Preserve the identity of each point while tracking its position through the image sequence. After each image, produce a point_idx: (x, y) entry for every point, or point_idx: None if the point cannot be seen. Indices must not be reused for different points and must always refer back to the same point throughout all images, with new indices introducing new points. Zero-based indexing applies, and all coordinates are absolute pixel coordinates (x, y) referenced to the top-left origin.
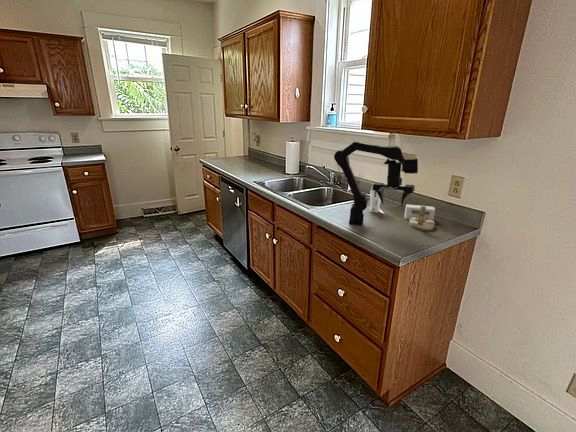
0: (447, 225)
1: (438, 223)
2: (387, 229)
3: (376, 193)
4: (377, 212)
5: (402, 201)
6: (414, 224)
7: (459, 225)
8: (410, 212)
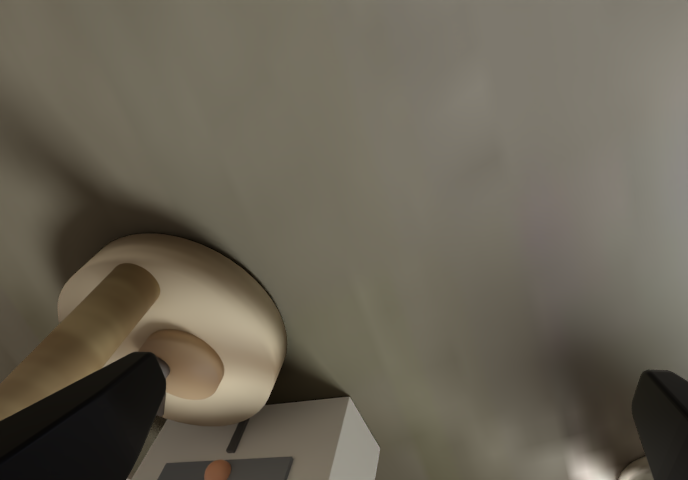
0: None
1: None
2: (422, 37)
3: None
4: (639, 458)
5: (16, 430)
6: (186, 267)
7: None
8: (298, 464)
